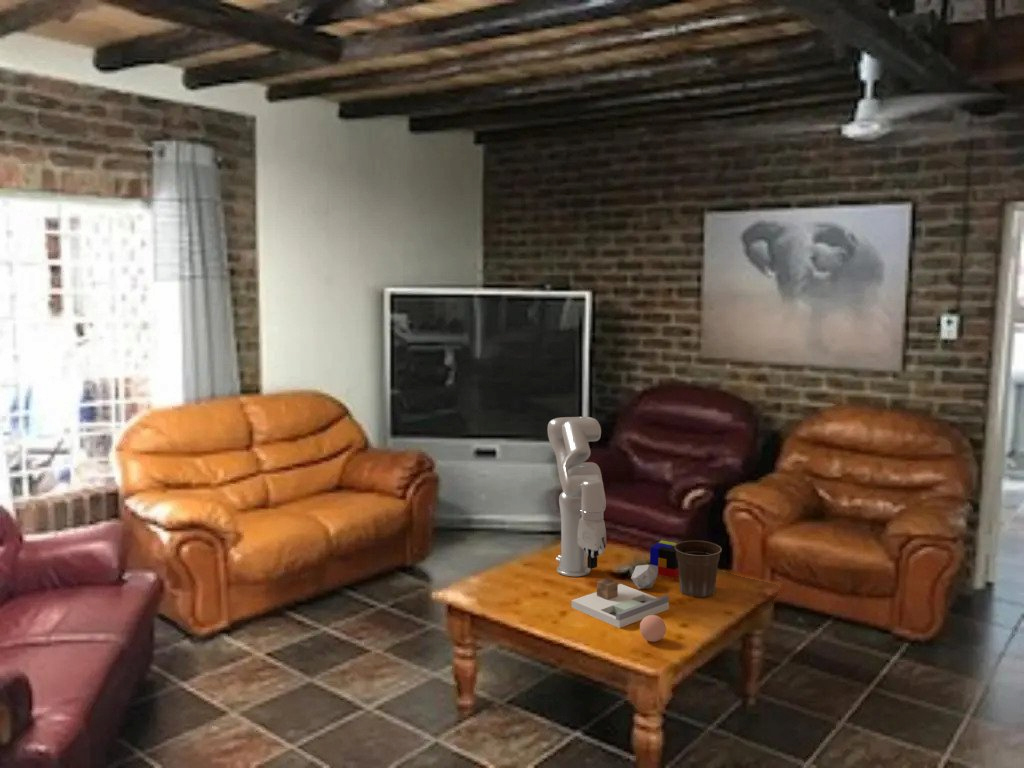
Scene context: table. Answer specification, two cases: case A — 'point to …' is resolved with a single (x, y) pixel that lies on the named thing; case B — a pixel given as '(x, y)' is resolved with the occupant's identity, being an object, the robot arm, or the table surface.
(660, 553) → the puzzle toy
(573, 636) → the table surface
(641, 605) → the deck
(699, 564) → the plant pot
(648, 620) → the toy ball
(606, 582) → the block
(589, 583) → the table surface
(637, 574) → the die
